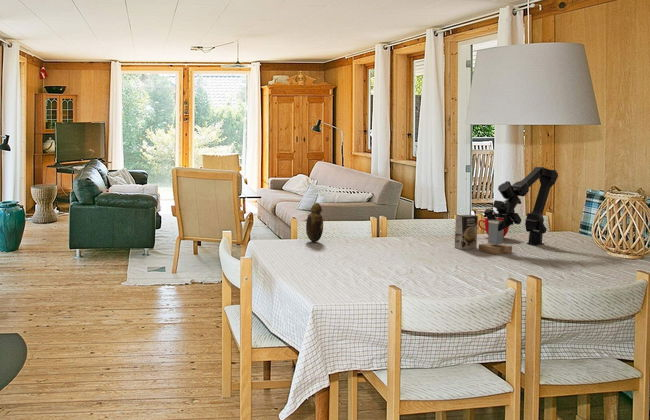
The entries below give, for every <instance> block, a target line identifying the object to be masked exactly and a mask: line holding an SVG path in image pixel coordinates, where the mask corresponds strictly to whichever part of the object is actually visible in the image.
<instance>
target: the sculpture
mask: <svg viewBox="0 0 650 420" xmlns="http://www.w3.org/2000/svg"><path fill="white" fill-rule="evenodd" d="M310 212H311V213H309V214H307V218H306V223H305V232H306V236H307V238H308V240H310V241H311V242H312V241H313V242H312V243H316V242H315V241H317V242H319V241H320V239H321V237H322V235H323V232H324V218H323V215H322V214H321V213H322V212H323V208H322V205H321V203H318V202H315V203H313V204H312V205H311V208H310Z"/></svg>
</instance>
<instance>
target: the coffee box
mask: <svg viewBox="0 0 650 420" xmlns="http://www.w3.org/2000/svg"><path fill="white" fill-rule="evenodd" d="M478 222H479V216H478V215H475V214H474V215H473V214H458V215H455V225H454V226H455V228H454V230H455V231H454V233H455V234H454V248H455V249H457V250H471V249H477V244H478V243H477V242H478V226H479V225H478Z"/></svg>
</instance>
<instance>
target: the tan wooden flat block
mask: <svg viewBox="0 0 650 420" xmlns="http://www.w3.org/2000/svg"><path fill="white" fill-rule="evenodd" d="M478 251H479V252H482V253H488V254H491V255H501V254H509V253H513V246H512V245H509V244H504V243H503V244H497V245H496V244H490V243H481V244H478Z"/></svg>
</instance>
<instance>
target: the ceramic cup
mask: <svg viewBox="0 0 650 420" xmlns="http://www.w3.org/2000/svg"><path fill="white" fill-rule="evenodd" d="M497 220H503V218H499V217H497ZM481 222H483V224H484V227H483V226H482V225H481ZM477 226H478V227H479V229H481V230H483V231H485V232H486V234H487V235H488V231H489V219H488V218H487V217H486V218H484V219H479V220H478V225H477ZM509 229H510V226H508V227H506V228H505V229H504V233H503V238H504V237H506V235H507V234H508V231H509Z"/></svg>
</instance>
